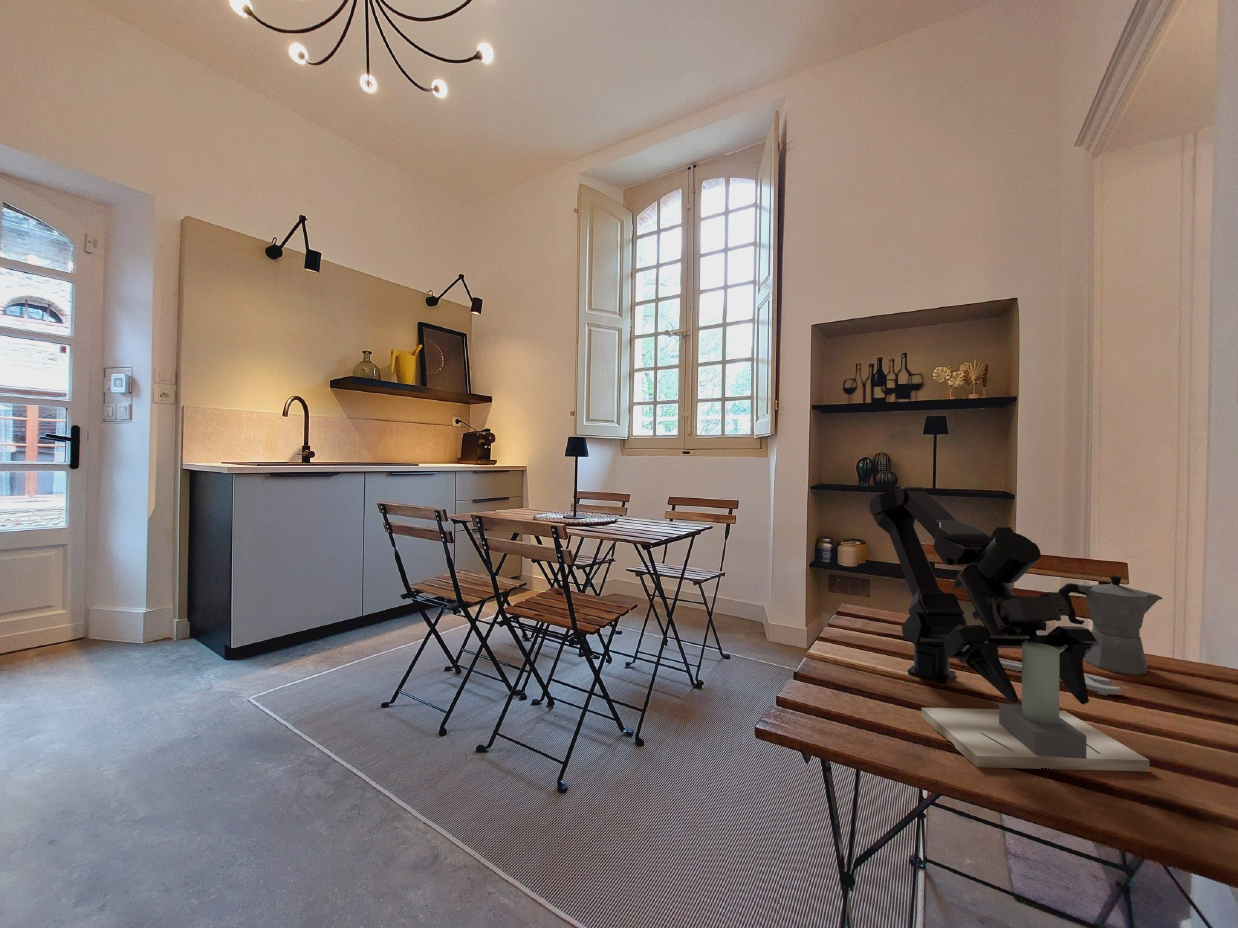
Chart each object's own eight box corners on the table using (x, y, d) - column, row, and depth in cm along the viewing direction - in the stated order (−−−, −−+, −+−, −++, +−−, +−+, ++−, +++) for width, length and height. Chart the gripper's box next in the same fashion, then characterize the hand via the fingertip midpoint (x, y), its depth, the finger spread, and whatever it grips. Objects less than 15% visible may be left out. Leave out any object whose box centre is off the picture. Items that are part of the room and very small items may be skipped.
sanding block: (1035, 754, 66) (1035, 656, 66) (999, 723, 74) (999, 636, 74) (1086, 758, 66) (1086, 659, 65) (1044, 726, 73) (1044, 638, 73)
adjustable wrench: (948, 658, 104) (948, 650, 104) (957, 651, 108) (957, 643, 109) (1117, 700, 86) (1117, 690, 86) (1120, 689, 90) (1120, 679, 90)
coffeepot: (1150, 663, 101) (1150, 574, 100) (1173, 681, 92) (1174, 584, 92) (1051, 649, 108) (1051, 566, 108) (1065, 665, 100) (1065, 575, 100)
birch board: (921, 716, 79) (921, 707, 79) (1064, 720, 78) (1064, 710, 78) (976, 766, 66) (976, 755, 66) (1149, 771, 65) (1149, 759, 65)
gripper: (955, 570, 73) (1011, 677, 62) (1086, 571, 73) (1166, 680, 62) (924, 608, 81) (969, 709, 70) (1042, 609, 81) (1106, 712, 70)
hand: (1050, 702), depth 68 cm, fingers open, 9 cm apart
